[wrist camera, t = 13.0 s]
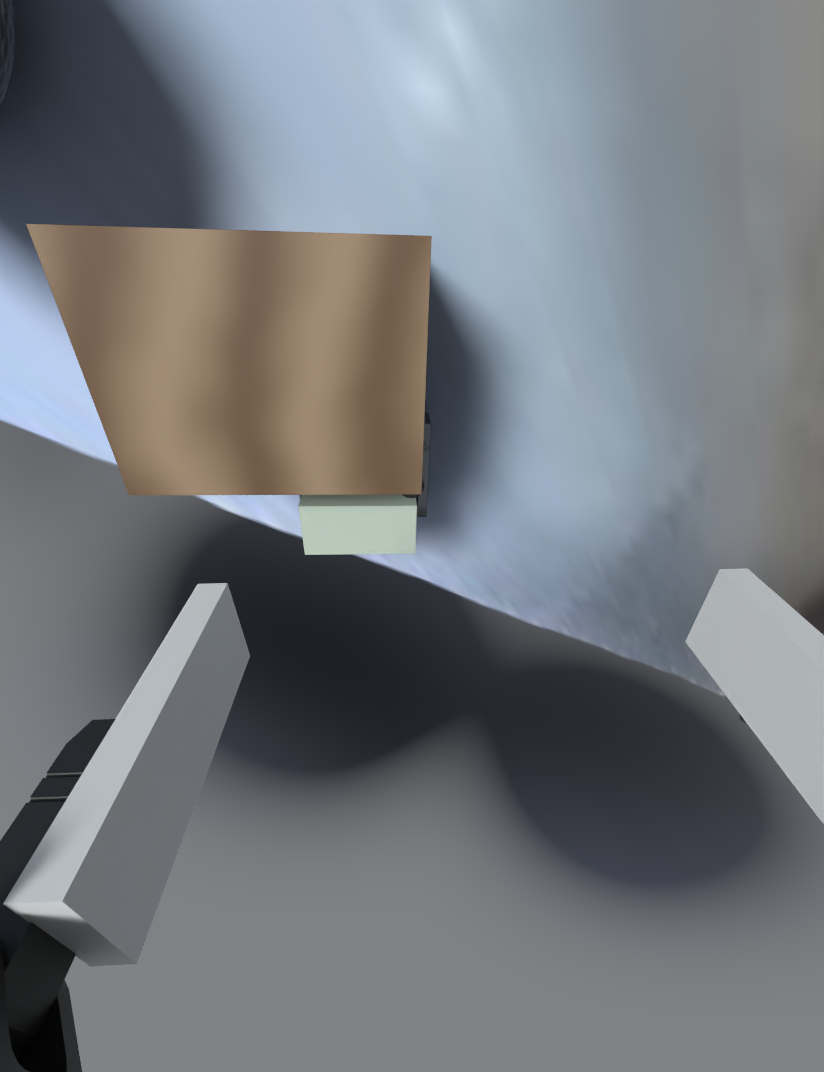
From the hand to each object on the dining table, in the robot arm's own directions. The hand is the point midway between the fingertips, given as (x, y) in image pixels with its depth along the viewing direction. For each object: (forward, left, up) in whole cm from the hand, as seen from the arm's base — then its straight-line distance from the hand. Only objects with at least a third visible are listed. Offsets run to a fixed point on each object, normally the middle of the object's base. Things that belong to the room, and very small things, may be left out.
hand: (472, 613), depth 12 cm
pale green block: (+4, +8, -28) cm, 29 cm away
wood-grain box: (+8, -3, -28) cm, 29 cm away
